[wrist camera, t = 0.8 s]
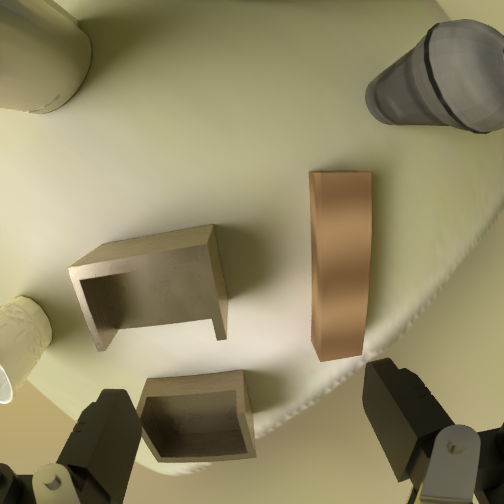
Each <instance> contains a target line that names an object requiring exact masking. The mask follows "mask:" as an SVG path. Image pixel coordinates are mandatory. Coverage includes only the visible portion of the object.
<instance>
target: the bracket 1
mask: <svg viewBox="0 0 504 504" xmlns="http://www.w3.org/2000/svg"><path fill="white" fill-rule="evenodd" d="M68 270H69V273H70V277H71V280H72V283H73V286H74V289H75V292H76V295H77V298H78V301H79V304H80V307H81V309H82V312H83V315H84V318H85V320H86V323H87V325H88V328H89V331H90V333H91V336H92V338H93V340H94V343H95V345H96V348H97V350H98V351H106V349H107V348H108V346H109V344H110V343H111V341H112V339H113V338H114V336H115V335H116V333H117V331H118V330H119V329H126V328H136V327H146V326H155V325H164V324H173V323H181V322H189V321H197V320H204V319H212V321H213V326H214V330H215V334H216V338H217V341H218V340H225V339H227V317H228V298H227V293H226V288H225V283H224V278H223V272H222V267H221V262H220V257H219V251H218V246H217V240H216V235H215V229H214V224H210V225H205V226H199V227H193V228H187V229H182V230H176V231H170V232H165V233H159V234H154V235H148V236H143V237H138V238H133V239H127V240H122V241H117V242H112V243H107V244H102V245H100V246H99V247H97V248H96V249H94V250H93V251H91V252H90V253H89V254H87V255H86V256H84V257H83V258H81V259H80V260H78V261H77V262H76V263H74V264H73V265H71V266H70V267H69V268H68Z"/></svg>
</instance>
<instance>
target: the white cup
mask: <svg viewBox="0 0 504 504" xmlns="http://www.w3.org/2000/svg"><path fill="white" fill-rule="evenodd" d="M51 341H52V328H51V325H50V322H49V319H48V317H47V316H46V314H45V313H44V311H43V310H42V308H41V307H40V306H39V305H38V304H36V303H35V302H34V301H33V300H32V299H30V298H26V297H23V296H19V297H16V298H13V299H12V300H10V301H9V302H7V303H6V304H4V305H1V306H0V403H4V404H6V403H10V402H11V401H12V400H13V398H14V396H15V395H16V393H17V392H18V390H19V389H20V387H21V386H22V384H23V383H24V381H25V380H26V379H27V377H28V376H29V375H30V373H31V371H32V369H33V368H34V367H35V365H36V364H37V362H38V361H39V359H40V358H41V355H42V353H43V352H44V350H45V349H46V348H47V346H48V345H49V344H50V342H51Z"/></svg>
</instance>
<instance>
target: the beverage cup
mask: <svg viewBox="0 0 504 504" xmlns="http://www.w3.org/2000/svg"><path fill="white" fill-rule="evenodd" d="M365 99H366V104H367V107H368V109H369V111H370V113H371V114H372V115H373V116H374V117H375V118H376V119H377V120H379V121H380V122H382V123H385V124H388V125H392V124H394V125H437V126H452V127H454V128H458V129H462V130H466V131H471V132H473V133H477V134H487V133H489V132H491V131H494V130H498V129H501V128H503V127H504V36H503V35H502V34H501V33H500V32H498V31H497V30H496V29H494V28H493V27H490V26H489V25H486V24H483V23H480V22H478V21H474V20H468V19H463V20H455V21H448V22H443V23H437V24H435V25H434V26H433V27H432V28H431V29H429V30H428V32H427V35H425V36H424V37H423V38H422V39H421V40H420V42H419V43H418V44H417V45H416V47H414V48H413V49H412V50H410V51H409V52H408V53H407V54H405V55H404V56H403V57H401V58H400V59H399V60H397V61H396V62H395V63H393V64H392V65H391V66H390V67H388V68H387V69H386V70H384V71H383V72H382V73H381V74H379V75H378V76H377V77H376V78H375V79H374V80H373V81H372V82H371V83H370V84H369V85H368V87H367V89H366V95H365Z"/></svg>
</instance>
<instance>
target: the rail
mask: <svg viewBox="0 0 504 504" xmlns="http://www.w3.org/2000/svg"><path fill="white" fill-rule="evenodd" d="M309 188H310V212H311V250H312V324H311V341H312V344H313V346H314V348H315V351H316V353H317V356H318V358H319V360H320V362H324V361H330V360H336V359H342V358H348V357H353V356H359V355H362V350H363V342H364V334H365V325H366V315H367V304H368V292H369V279H370V261H371V234H372V181H371V172H362V171H317V172H309Z"/></svg>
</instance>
